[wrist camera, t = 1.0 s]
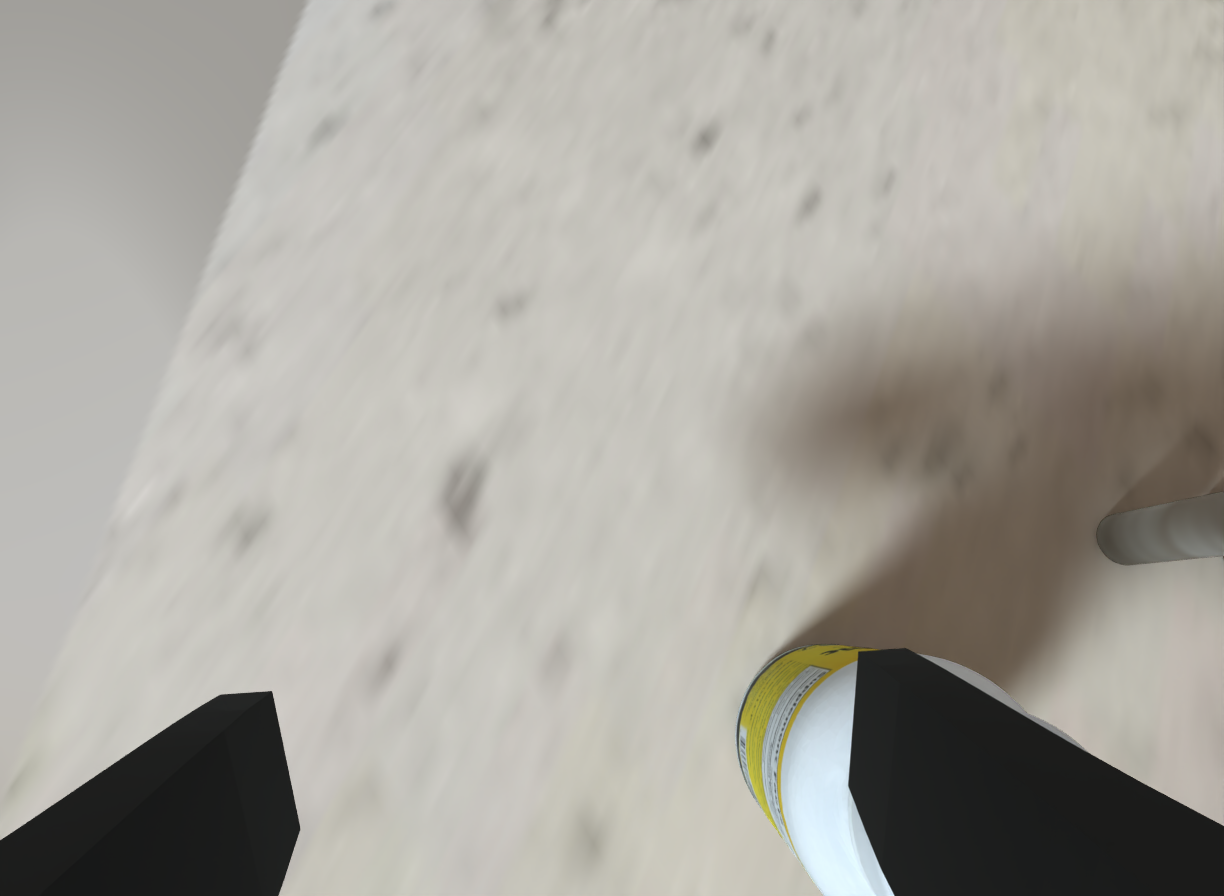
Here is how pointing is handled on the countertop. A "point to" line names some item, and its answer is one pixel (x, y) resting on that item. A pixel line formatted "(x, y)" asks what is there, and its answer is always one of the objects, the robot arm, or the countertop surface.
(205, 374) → the countertop surface
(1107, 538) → the pin seat
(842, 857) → the supplement bottle
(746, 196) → the countertop surface
